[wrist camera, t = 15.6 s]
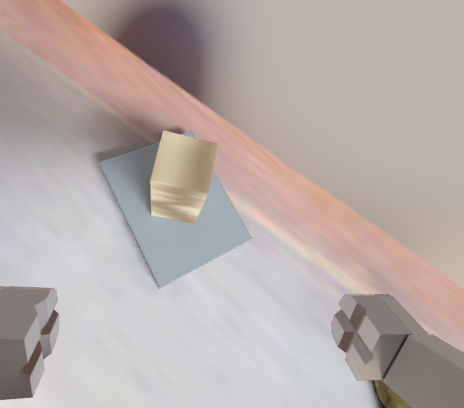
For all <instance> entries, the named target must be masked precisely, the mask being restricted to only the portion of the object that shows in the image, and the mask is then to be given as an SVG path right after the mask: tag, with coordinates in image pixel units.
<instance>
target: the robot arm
mask: <svg viewBox="0 0 464 408" xmlns="http://www.w3.org/2000/svg"><path fill="white" fill-rule="evenodd" d="M57 301H58V298H57V290H56V289H54V288H39V287H15V286H10V287H5V286H0V400H6V399H19V398H31V397H33V395H34V393H35V391H36V388H37V386H38V384H39V381H40V379H41V377H42V374H43V372H44V361H43V359H45V358H46V357H47V356H48V355H50V354H51V353H52V350H53V348H54V345H55V343H56V339H57V335H58V331H59V314H58V313H57V312H56V311H55V310H54V307H55V305H56V303H57ZM339 306H340V308H341V310H340V311H338V312H337V313H336V314H335V315H334V317H333V320H332V323H331V326H332V335H333V338H334V341H335V342H336V344H337V346H338V347H339V348H340V349H342V350H343V351H344V352H345V353H346V357H345V360H346V362H347V364H348V366H349V367H350V369H351V371H352V373H353V374H354V376H355V378H356V380H383V382H384V383H385V384H386V385H387V386H388V387H389V388H390V389H392V390H393V391H394V392H395V393H396V394H397V395H398V396H399V397H400V398H401V399H403V400H404V401H405V402H406V403H407V404H408V405H409V406H410V407H411V408H464V353H463V352H462V351H460V350H458V349H456V348H455V347H453V346H451V345H450V344H448V343H446V342H444V341H443V340H441V339H439V338H438V337H436V336H434V335H428V334H427V332H426V331H425V330H424V329H423V328H422V327H421V326H420V325H419V324H418V323H417V322H416V321H415V320H414V318H413V317H412V316H411V315H410V314H409V313H408V312H407V311H406V310H405V309H404V308H403V307H402V305H401V304H400V303H399V302H398V301H397V300H396V299H395V298H394V297H392V296H391V295H389V294H374V295H365V294H345V295H344V296H343V297H342V298H341V300H340V303H339Z"/></svg>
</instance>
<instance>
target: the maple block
mask: <svg viewBox="0 0 464 408" xmlns="http://www.w3.org/2000/svg"><path fill="white" fill-rule="evenodd" d="M216 148H217V144H216V143H212V142H208V141H204V140H200V139H196V138H192V137H188V136H184V135H180V134H176V133H172V132H168V131H164V130H163V133H162V137H161V141H160V145H159V148H158V152H157V156H156V160H155V164H154V168H153V172H152V176H151V179H150V184H151V216H156V217H161V218H166V219H171V220H176V221H181V222H186V223H191V224H195V222H196V219H197V217H198V215H199V213H200V211H201V208H202V206H203V204H204V202H205V199H206V197H207V195H208V193H209V188H210V182H211V176H212V170H213V165H214V159H215V153H216Z"/></svg>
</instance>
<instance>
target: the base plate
mask: <svg viewBox="0 0 464 408" xmlns="http://www.w3.org/2000/svg"><path fill="white" fill-rule="evenodd" d="M180 135H184V136H188V137H192V138H195V136H194V134H193V133H192V131H189V132H186V133H183V134H180ZM159 145H160V141H159V142H157V143H154V144H151V145H148V146H145V147H142V148H139V149H136V150H133V151H130V152H127V153H124V154H121V155H119V156H116V157H113V158H110V159H107V160H104V161H101V162H99V163H100V166H101V169H102V171H103V174H104V176H105V178H106V180H107V182H108V184H109V186H110V188H111V190H112V192H113V194H114V196H115V198H116V200H117V202H118V205H119V207H120V209H121V211H122V213H123V215H124V217H125V219H126V221H127V223H128V225H129V227H130V229H131V231H132V234H133V236H134V238H135V240H136V242H137V244H138V246H139V248H140V250H141V252H142V254H143V256H144V258H145V260H146V262H147V265H148V267H149V269H150V271H151V273H152V275H153V277H154V279H155V281H156V283H157V285H158V287H159V289H160V288H162V287H164V286H165V285H167V284H169V283H171V282H173V281H175V280H177V279H178V278H180V277H182V276H184V275H186V274H188V273H190V272H191V271H193V270H195V269H197V268H199V267H201V266H203V265H204V264H206V263H208V262H210V261H212V260H214V259H216V258H218V257H219V256H221V255H223V254H225V253H227V252H229V251H231V250H232V249H234V248H236V247H238V246H240V245H242V244H244V243H245V242H247V241H248V240H250V239H251V238H252V237H251V235H250V234H249V232H248V230H247V228H246V227H245V225H244V223H243V221H242V219H241V218H240V216H239V214H238V212H237V211H236V209H235V207H234V205H233V204H232V202H231V200H230V198H229V196H228V195H227V193H226V191H225V189H224V188H223V186H222V184H221V182H220V180H219V179H218V177H217V175H216V173H215V172H214V170H212V176H211V182H210V188H209V193H208V195H207V197H206V199H205V202H204V204H203V206H202V208H201V211H200V213H199V215H198V217H197V219H196V222H195V224H191V223H186V222H181V221H176V220H171V219H166V218H161V217H156V216H151V184H150V179H151V176H152V172H153V168H154V164H155V160H156V156H157V152H158V148H159Z"/></svg>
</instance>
